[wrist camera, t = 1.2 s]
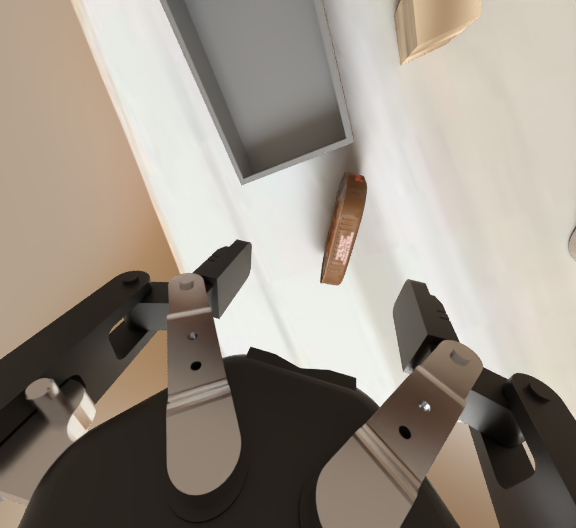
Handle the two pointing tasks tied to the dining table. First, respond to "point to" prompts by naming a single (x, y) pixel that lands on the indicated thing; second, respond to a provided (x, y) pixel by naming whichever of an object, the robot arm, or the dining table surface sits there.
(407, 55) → the wooden block
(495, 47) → the dining table surface
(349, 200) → the tin
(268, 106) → the bin
